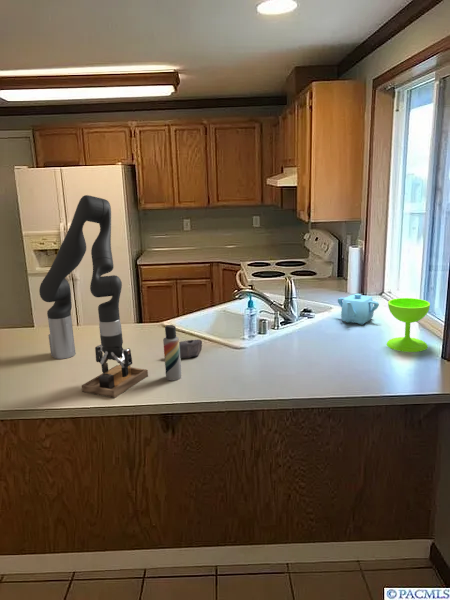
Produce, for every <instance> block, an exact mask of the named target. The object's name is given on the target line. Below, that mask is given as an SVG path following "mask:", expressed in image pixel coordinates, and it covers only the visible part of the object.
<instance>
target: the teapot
mask: <svg viewBox="0 0 450 600" xmlns="http://www.w3.org/2000/svg"><path fill="white" fill-rule="evenodd" d="M337 303H338V304H339V306H340V308H341V315H340V316H341V321H342V322H345V323H346V324H351V323H354V324H355V323H356V324H358V325H360V326H363V325H365V323H367V322H369V321H370V320H372V319H373V318H374V314H375V313H374V311H376V310H377V309H378V307H380V303H379V302H378V301H374V299H373V296H370V295H363V294H361V293H355V294H350V295H349V296H346V297H339V298H337Z"/></svg>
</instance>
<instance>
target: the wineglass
mask: <svg viewBox="0 0 450 600" xmlns="http://www.w3.org/2000/svg"><path fill="white" fill-rule="evenodd" d="M387 304H388V305H387V307H388V310H389V312H390V314H391V315H392V316H393V317H394V318H395V319H396V320H398V321H399V322H402V323H405V324H404V325H405V327H404V329H405V330H404V336H401V337H393V338H390V339H389V340H388V341H387V342H386V346H387V347H388V348H389V349H391V350H394V351H398V352H404V353H417V352H423V351H425V350H427V349H428V348H429V347H428V344H427V342H425V341H424V340H422V339H419V338H415V337H411V336H410V335H411V323H417V322H419V321H421V320H422V319H423V318H424V317H425V316H427V314H428V313H429V310H430V306H431V303H430V302H429V301H427V300H425V299H420V298H413V297H401V298H399V297H398V298H392V299H390V300H388V302H387Z"/></svg>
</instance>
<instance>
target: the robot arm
mask: <svg viewBox="0 0 450 600" xmlns="http://www.w3.org/2000/svg"><path fill="white" fill-rule="evenodd" d="M73 214H74V215H73V217H72V219H71V223H70V225H69V228H68V230H67V233H66V234H65V237H64V239H63V240H62V242H61V244H60V247H59V249H58V251H57V254H56V256H55V258H54V261H53V262H52V265H51V267H50V269H49V270H48V272H47V273H46V275H45V277H44V278H43V279H42V281H41V283H40V285H39V296H40V298H41V300H42V301H44V302H46V303H53V304H52V306H51V307H50V308H49V309H48V310H47V314H46V315H47V320H48V329H49V334H48V335H47V336H48V344H49V349H50V356H51V357H53V359H58V360H61V359H69V358H72V357H74V356H75V355H76V354H77V353H76V345H75V338H74V337H75V336H74V328H73V321H72V320H73V319H72V312H71V311H72V292H71V287H70V283H69V281H68V280H67V278H66V277H68V276H69V275H70V274H71V273H72V272H73V271H74V270H75V269H77V267H78V266H79V265H80V264H81V262H82V260H83V259H84V256H85V254H86V252H87V243H86V240H85V239H86V238H85V236H84V231H83V229H84V226H85V223H86V222H90V223H96V224H99V228H100V229H99V233H98V235H97V236H96V239H95V240H94V242H93V244H92V246H91V250H90V252H91V253H90V254H91V263H92V275H91V279H90V284H89V285H90V286H89V287H90V288H89V289H90V290H89V291H90V293H91V295H92V296H93V297H95V298H105V297H111V298H110V299H109V300H108V301H105V302H102V303H100V304H99V305H98V307H97V311H98V319H99V320H98V321H99V325H98V326H99V327H98V328H99V337H100V343H101V344H98V345H97V346H95V348H94V349H95V350H94V351H95V362H96V363H99V364H100V365H101V371H102V373H103V374H104V373H106V372H108V370H109V364H108V361H109V360H110V361H111V360H112V361H116V363H118V365H121V366H122V377H126V376H127V375H128V366H130V367H131V366H132V365H133V358H132V353H131V349H130V348H126V349H124V347H123V343H124V341H123V330H122V329H123V328H122V322H121V318H120V308H119V307H120V305H119V304H120V298H121V292H122V286H123V285H122V284H123V283H122V280H121V278H120V276H117V275H114V274H113V275H105V274H109V273H111V272H112V271H113V270H114V260H113V259H114V258H113V254H112V253H113V252H112V243H111V240H112V238H111V237H112V236H111V235H112V208H111V204H110V201H109V200H108V199H106V198H101V197H98V196H97V197H96V196H92V195H88V194H87V195H82V197H81V198H80V199H79V202H78V203H77V206H76V209H75V212H74V213H73Z"/></svg>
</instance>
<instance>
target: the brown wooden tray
mask: <svg viewBox="0 0 450 600" xmlns="http://www.w3.org/2000/svg"><path fill="white" fill-rule="evenodd" d="M118 365H119V364H117V365H115V366H113V367H111V368H108V371H109V370H111V369H113V368H115V367H116V366H118ZM130 367H131V366H130ZM102 374H103V372H102V373H101V374H99V375H98V376H95V377H94V378H92V379H91V380H89V381H87V382H85V383H83V384H81V391H82V393H87V394H91V395H97V396H101V397H102V396H103V397H107V398H113V399H115V398H117V397H119V396H120V395H122V394H123V393H125V392H126V391H127V390H129V389H131V388H132V387H134V386H136V385H137V384H139V383H140V382H141V381H144V379H146V378H147V377H149V372H148V369H144V368H137V367H133V366H132V367H131V377H129V378H128V379H126V380H125V381H123V382H122V383H120V384H118V385H117V386H115V387H114V388H112V389H108V388H102V387H100V383H99V376H101V375H102Z"/></svg>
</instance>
